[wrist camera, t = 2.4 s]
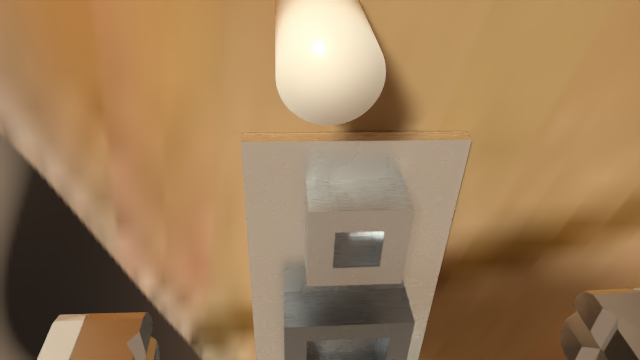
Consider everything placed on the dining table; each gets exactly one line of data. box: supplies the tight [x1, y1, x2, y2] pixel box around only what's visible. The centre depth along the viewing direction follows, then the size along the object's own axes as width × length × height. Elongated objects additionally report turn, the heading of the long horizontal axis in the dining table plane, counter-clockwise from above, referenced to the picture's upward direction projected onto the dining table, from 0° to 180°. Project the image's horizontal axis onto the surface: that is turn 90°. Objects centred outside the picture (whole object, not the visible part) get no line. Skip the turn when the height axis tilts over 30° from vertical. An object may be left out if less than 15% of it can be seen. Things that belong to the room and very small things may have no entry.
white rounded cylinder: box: [275, 0, 386, 125], centre depth 21 cm, size 4×4×8 cm
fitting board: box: [241, 131, 472, 360], centre depth 34 cm, size 13×22×4 cm, turn 178°
